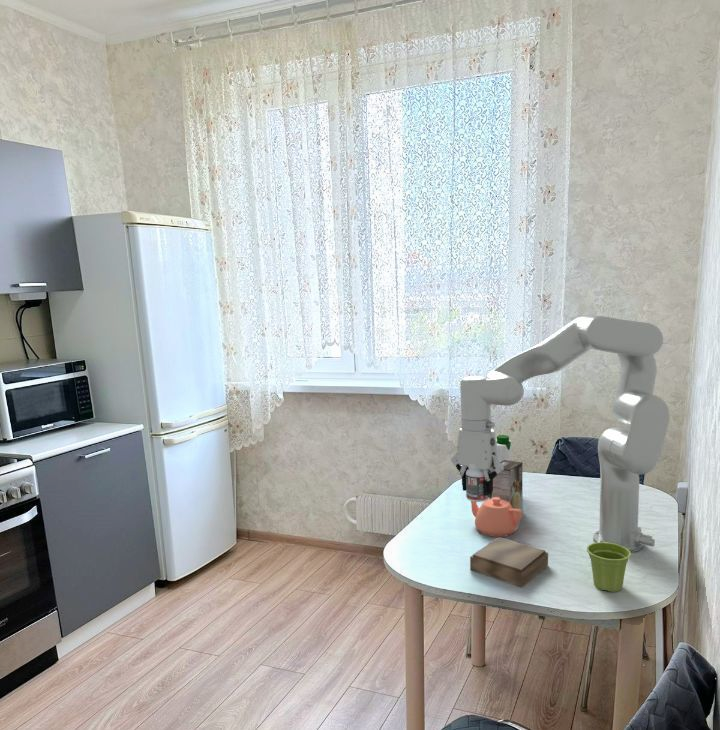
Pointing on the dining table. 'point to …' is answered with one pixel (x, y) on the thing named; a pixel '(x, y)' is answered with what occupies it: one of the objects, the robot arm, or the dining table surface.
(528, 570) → the walnut base
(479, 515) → the teapot
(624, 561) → the plant pot
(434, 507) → the dining table surface
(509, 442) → the milk carton
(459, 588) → the dining table surface
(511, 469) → the coffee box
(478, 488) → the pill bottle
